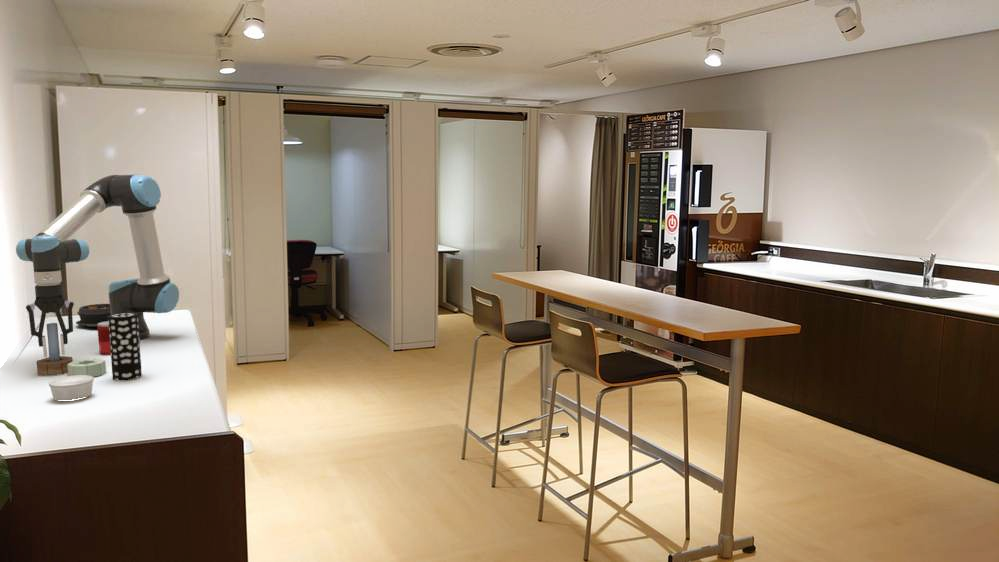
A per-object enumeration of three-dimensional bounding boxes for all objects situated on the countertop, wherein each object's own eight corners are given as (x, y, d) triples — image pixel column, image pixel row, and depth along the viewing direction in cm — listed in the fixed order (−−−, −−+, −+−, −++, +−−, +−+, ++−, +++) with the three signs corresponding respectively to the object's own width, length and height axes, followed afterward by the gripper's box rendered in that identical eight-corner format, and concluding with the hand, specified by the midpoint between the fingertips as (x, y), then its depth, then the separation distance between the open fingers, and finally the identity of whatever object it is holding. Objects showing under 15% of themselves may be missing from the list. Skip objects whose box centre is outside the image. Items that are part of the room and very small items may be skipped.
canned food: (113, 355, 267) (111, 325, 265) (94, 354, 269) (91, 324, 267) (128, 350, 274) (126, 321, 273) (109, 349, 276) (107, 320, 274)
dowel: (61, 370, 246) (57, 322, 244) (61, 372, 244) (57, 324, 242) (50, 371, 245) (46, 323, 243) (50, 373, 242) (46, 325, 240)
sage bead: (96, 369, 248) (95, 357, 247) (110, 373, 242) (109, 361, 241) (64, 375, 240) (63, 363, 239) (77, 380, 234) (76, 367, 233)
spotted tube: (147, 375, 240) (143, 313, 237) (127, 381, 232) (122, 318, 230) (127, 372, 243) (123, 312, 240) (106, 379, 235) (101, 316, 232)
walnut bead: (73, 366, 251) (72, 355, 250) (73, 373, 242) (72, 361, 242) (38, 370, 246) (37, 358, 246) (37, 377, 237) (36, 365, 237)
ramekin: (63, 405, 208) (62, 387, 207) (42, 399, 214) (40, 381, 213) (102, 395, 217) (101, 378, 217) (81, 390, 223) (80, 373, 222)
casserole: (72, 323, 328) (70, 304, 327) (119, 318, 339) (117, 300, 338) (80, 332, 308) (78, 312, 307) (130, 327, 319) (128, 308, 318)
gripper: (15, 287, 233) (22, 360, 236) (79, 283, 241) (84, 354, 244) (17, 284, 239) (23, 355, 242) (79, 280, 248) (84, 349, 251)
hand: (54, 354), depth 243 cm, fingers open, 4 cm apart
